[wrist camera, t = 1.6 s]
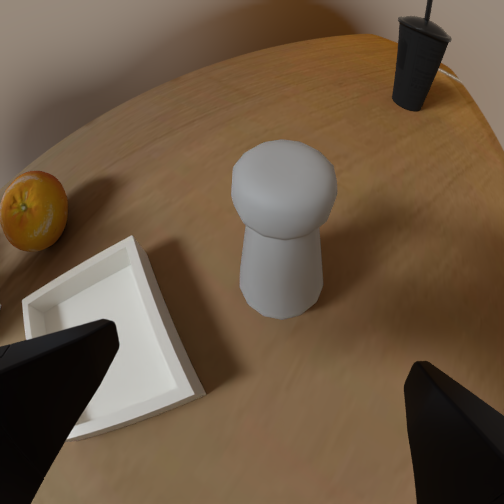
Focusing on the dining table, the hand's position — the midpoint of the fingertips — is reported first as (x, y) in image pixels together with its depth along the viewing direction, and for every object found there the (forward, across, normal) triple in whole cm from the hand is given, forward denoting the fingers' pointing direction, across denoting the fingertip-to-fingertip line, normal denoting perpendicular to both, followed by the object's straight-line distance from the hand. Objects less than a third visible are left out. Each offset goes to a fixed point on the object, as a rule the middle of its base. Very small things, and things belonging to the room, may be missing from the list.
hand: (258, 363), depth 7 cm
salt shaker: (+14, 0, +4) cm, 15 cm away
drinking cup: (+36, -16, -18) cm, 44 cm away
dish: (+9, +13, +9) cm, 18 cm away
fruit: (+16, +26, +2) cm, 31 cm away
